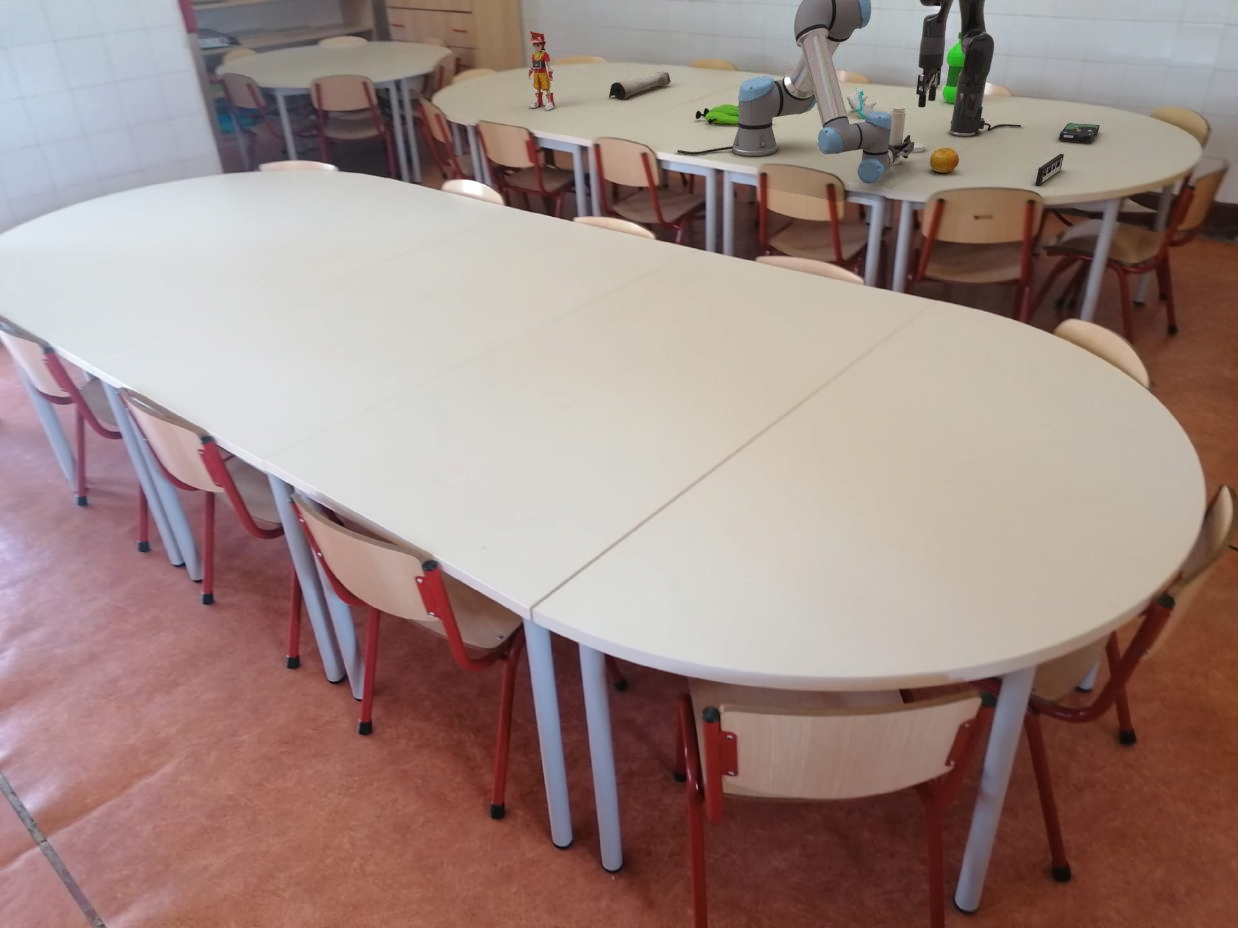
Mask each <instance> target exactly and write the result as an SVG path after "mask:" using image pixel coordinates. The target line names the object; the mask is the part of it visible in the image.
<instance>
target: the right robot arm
mask: <svg viewBox="0 0 1238 928" xmlns="http://www.w3.org/2000/svg"><path fill="white" fill-rule="evenodd" d="M919 2H920V4H921V5H922V6H924V7H940V8H939V10H938V12H937V13H931V14H928V15H926V16H925V17H924V18H923V21H922V32H921V40H920V45H919V46H920V47H919V55H918V68H919V69H922V73H921V74H918V76H917V83H916V90H915V92H916V93H915V94H916V95H917V96H918V103H917V107H918V108H925V107H926V105H927V101H928V102H935V101H936V99H937V97H936V96H937V89H938V87H939V86H940V85H941V76H942V67H943V65H944V58H945V50H946V49H945V48H946V32H947V22H948V18H949V14H950V11H951V8H952V5H953V3H954V0H919ZM985 3H986V0H958V6H959V13H960V32H961V51H962V53H963V55H964V56H965V58H964V64H963V69H962V71H961V72H960V74H959V77H958V83H957V90H956V96H955V103H953V110H952V115H951V120H950V129H949V134H950V135H952V136H956V137H973V136H979V131H980V130H984V129H985V126H986V127H987V130H988V131H992V130H994V129H996V128H999V127H1013V128H1021V127H1022V124H1013V123H1012V124H1011V123H1010V124H1009V123H1001V124H996V125H993V126H991V124H990V123H988V122H986V120H985V118H984V117H982V115H983V109H984V107H983V102H984V96H985V90H986V83H987V79H988V76H989V74H990V73H991V72H990V71H991V68H992V63H993V58H994V54H995V53H994V51H995V40H994V38H993V36H992V35H991V34H990V33H988V32H987V28H986V21H985ZM927 95H928V97H927Z"/></svg>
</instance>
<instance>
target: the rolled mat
mask: <svg viewBox="0 0 1238 928" xmlns="http://www.w3.org/2000/svg"><path fill="white" fill-rule="evenodd" d="M671 83H672V81H671V77H670V74H669V72H668V71H658V72H654V73H649V74H645V75H640V76H637V77H633V78H628V79H623V80H620V81H616V82H613V83H612V84H611V85H610V89H609V95H608V97H609V98H611V97H616V99H620V100H622V101H623V100H626V99H627V98H629V97H630V96H632V95H635V94H636V93H638V92H640V91H643V90H644V89H647V88H650V87H655V86H658V87H659V86H661V87H665V86H669V85H670V84H671Z"/></svg>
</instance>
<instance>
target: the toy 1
mask: <svg viewBox="0 0 1238 928" xmlns="http://www.w3.org/2000/svg"><path fill="white" fill-rule="evenodd" d="M529 33H530V35H531V36H528V37H527V38H528V39H529V40H528V41H527V43H529V44H530V43H531V44H532V48H533V50H534V51H533V52H532V55H531V58H530V59H531V63H530V66H528V74H527V75H528V76H527V77H528V79H529V80H531V75H532V74H533V84H532V85H533V86H532V87H533V88H534V89H535V90H536V92H534V95H535V97H536V100H535V101H533V102H531V105H530V108H531V109H535V108H538V107H542V106H544V101H543V100H544V99H543V95H544V92H546V94H545V97H546V99H547V103H546V104H545V106H544V110H546V111H549V110H553V109H554V107H555V106H556V105H555V99H554V92H551V91H550V90H551V86H552V84H551V82H552V81H553V80H554V77H553V73H554V71H555V70H554V69H552V68H551V63H550V61H551V59H550V58H551V57H550V54H549V53H548V52H547V50H546V48H545V46H546V44H547V41H545V35H544V33H543V32H542V33H539V32H535V31H529Z"/></svg>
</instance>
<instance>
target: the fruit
mask: <svg viewBox="0 0 1238 928" xmlns="http://www.w3.org/2000/svg"><path fill="white" fill-rule="evenodd" d="M959 163H960V156H959V154H958V152H957V151H956V150H955V149H953V148H951V147H942V148H938V149H936V150H934V151H933V153H932V154H931V155H930V159H929V166H930V168H931V169H932V170H933V171H934V172H936V173H939V174H940V173H943V174H944V173H945V174H946V173H951V172H953V171H954V170H956V168H957V167H958V165H959Z"/></svg>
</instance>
